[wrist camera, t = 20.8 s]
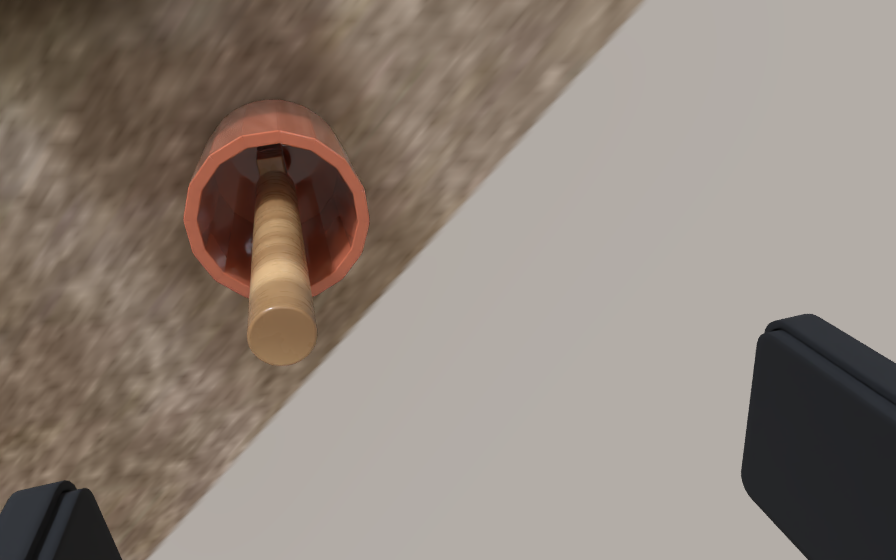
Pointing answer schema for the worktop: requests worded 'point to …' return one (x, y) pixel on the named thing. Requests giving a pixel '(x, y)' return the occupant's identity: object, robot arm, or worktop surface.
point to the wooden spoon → (279, 269)
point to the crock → (234, 187)
